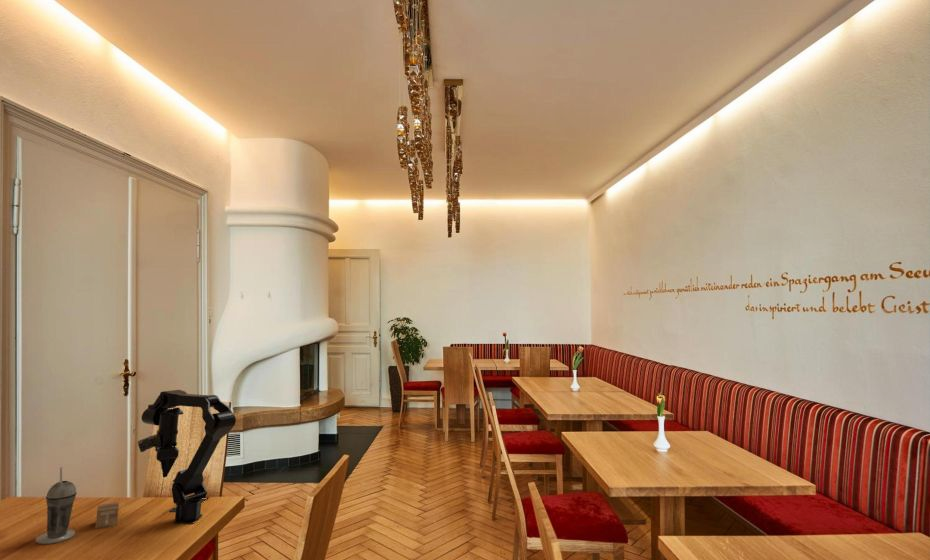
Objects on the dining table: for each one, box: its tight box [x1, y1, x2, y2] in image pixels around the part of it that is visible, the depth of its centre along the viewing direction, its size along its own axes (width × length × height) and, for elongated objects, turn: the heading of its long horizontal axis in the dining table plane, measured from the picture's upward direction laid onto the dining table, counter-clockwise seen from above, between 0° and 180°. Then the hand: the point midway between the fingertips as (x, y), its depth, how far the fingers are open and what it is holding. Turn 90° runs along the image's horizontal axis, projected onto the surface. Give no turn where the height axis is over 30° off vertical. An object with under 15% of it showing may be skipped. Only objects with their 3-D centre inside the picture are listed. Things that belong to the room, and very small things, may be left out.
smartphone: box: [168, 496, 210, 513], centre depth 178 cm, size 7×1×15 cm
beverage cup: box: [45, 466, 78, 538], centre depth 149 cm, size 7×7×20 cm
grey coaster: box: [35, 528, 76, 545], centre depth 148 cm, size 9×9×1 cm
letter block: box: [95, 501, 120, 529], centre depth 159 cm, size 6×6×6 cm
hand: (164, 473), depth 171 cm, fingers open, 9 cm apart
